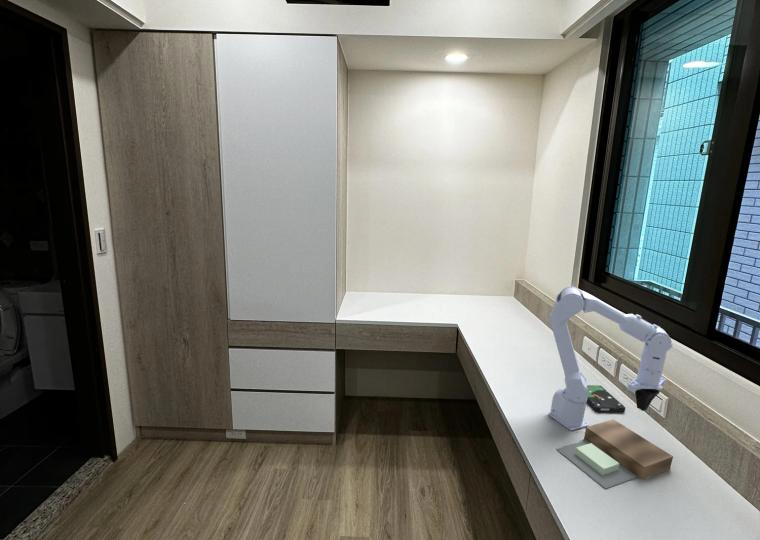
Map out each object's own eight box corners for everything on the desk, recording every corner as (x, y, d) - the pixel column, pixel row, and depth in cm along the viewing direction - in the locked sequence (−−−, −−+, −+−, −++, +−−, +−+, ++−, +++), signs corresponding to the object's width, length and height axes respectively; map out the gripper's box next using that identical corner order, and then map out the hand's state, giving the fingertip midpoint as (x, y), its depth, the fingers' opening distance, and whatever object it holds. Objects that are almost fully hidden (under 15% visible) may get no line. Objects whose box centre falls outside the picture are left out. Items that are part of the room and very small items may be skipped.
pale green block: (590, 443, 117) (589, 449, 118) (575, 447, 115) (574, 453, 115) (619, 463, 109) (618, 469, 110) (604, 468, 107) (602, 475, 107)
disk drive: (625, 414, 138) (599, 391, 152) (626, 407, 137) (600, 384, 152) (595, 414, 137) (572, 391, 152) (597, 407, 137) (574, 384, 151)
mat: (556, 449, 117) (556, 448, 117) (585, 440, 122) (586, 439, 122) (605, 489, 103) (605, 488, 103) (636, 477, 108) (637, 476, 108)
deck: (583, 438, 123) (586, 427, 122) (611, 430, 128) (613, 419, 127) (641, 479, 107) (644, 466, 106) (670, 468, 112) (673, 456, 111)
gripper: (648, 377, 113) (638, 420, 116) (680, 370, 119) (670, 411, 122) (624, 366, 119) (615, 407, 122) (656, 360, 125) (647, 399, 128)
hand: (641, 408), depth 122 cm, fingers closed
